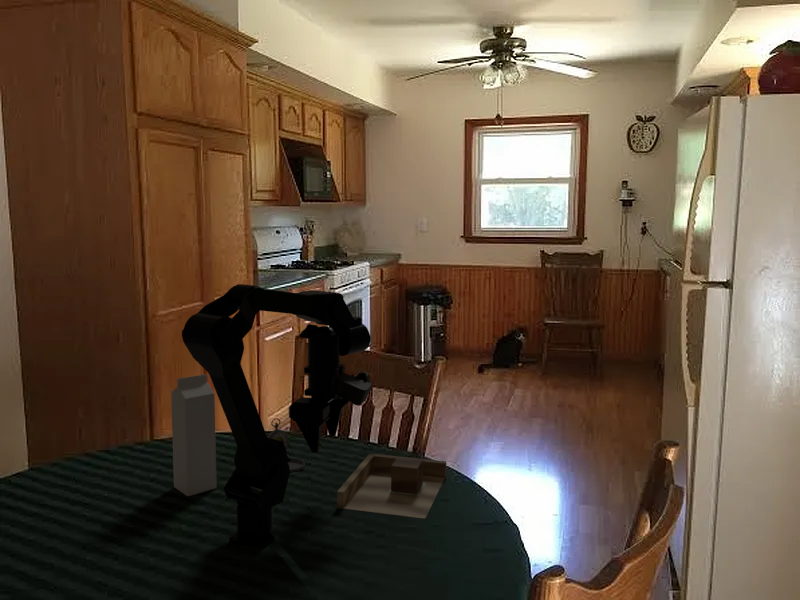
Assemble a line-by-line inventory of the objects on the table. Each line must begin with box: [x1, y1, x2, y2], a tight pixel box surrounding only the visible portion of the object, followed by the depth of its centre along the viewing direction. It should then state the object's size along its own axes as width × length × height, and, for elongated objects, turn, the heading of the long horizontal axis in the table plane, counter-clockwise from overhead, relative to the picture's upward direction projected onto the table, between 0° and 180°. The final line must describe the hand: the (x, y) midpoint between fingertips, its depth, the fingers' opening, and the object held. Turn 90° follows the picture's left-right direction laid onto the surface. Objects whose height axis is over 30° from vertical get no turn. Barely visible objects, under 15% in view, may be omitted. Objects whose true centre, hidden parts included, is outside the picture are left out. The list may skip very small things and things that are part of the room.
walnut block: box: [391, 456, 424, 494], centre depth 130 cm, size 5×5×5 cm
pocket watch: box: [267, 418, 306, 473], centre depth 142 cm, size 8×8×10 cm
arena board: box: [336, 453, 447, 520], centre depth 128 cm, size 20×16×4 cm
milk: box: [170, 373, 217, 497], centre depth 130 cm, size 6×6×22 cm
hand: (324, 443), depth 124 cm, fingers open, 9 cm apart
